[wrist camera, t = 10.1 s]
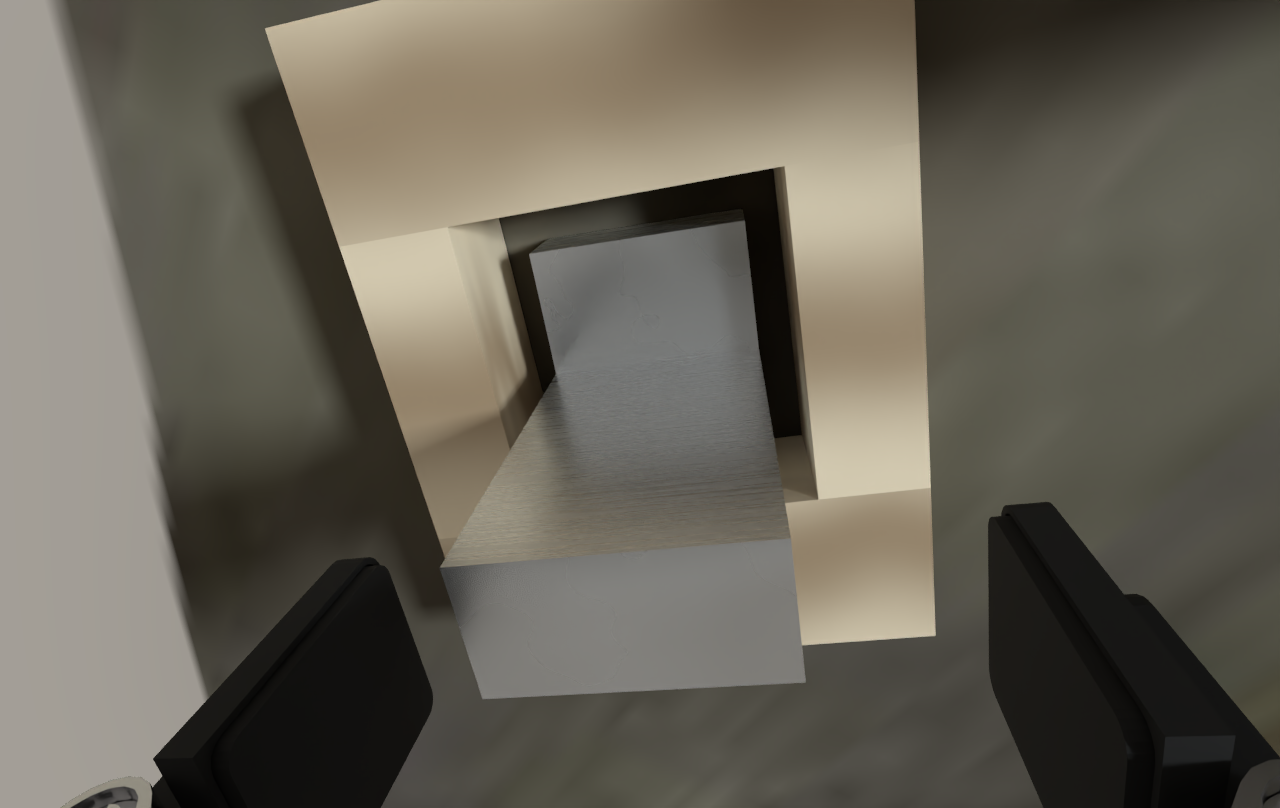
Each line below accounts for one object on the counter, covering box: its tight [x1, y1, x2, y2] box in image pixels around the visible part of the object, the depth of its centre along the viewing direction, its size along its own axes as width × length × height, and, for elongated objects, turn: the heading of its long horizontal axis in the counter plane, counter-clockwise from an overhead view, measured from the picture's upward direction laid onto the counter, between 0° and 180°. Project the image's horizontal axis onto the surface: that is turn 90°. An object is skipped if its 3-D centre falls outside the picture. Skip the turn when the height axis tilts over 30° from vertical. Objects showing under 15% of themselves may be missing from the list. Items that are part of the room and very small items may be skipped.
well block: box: [265, 0, 936, 645], centre depth 17 cm, size 16×12×4 cm
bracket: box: [440, 208, 806, 699], centre depth 14 cm, size 6×5×10 cm
